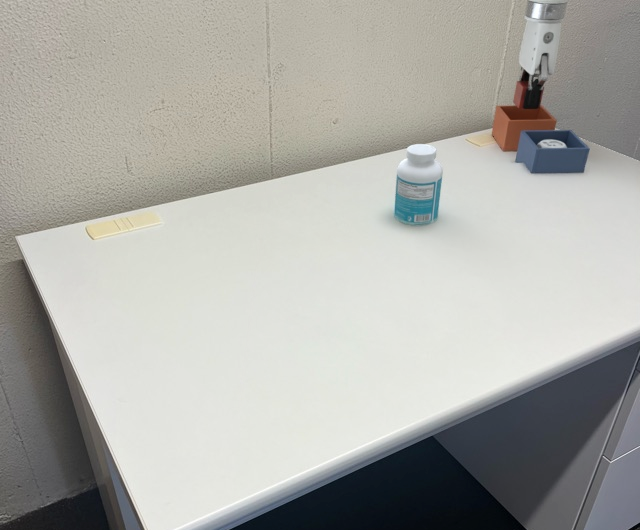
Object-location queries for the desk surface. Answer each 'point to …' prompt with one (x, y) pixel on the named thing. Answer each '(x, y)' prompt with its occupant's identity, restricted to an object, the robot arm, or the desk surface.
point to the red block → (522, 93)
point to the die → (551, 144)
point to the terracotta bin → (518, 124)
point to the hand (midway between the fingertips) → (526, 103)
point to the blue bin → (552, 152)
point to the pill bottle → (418, 186)
